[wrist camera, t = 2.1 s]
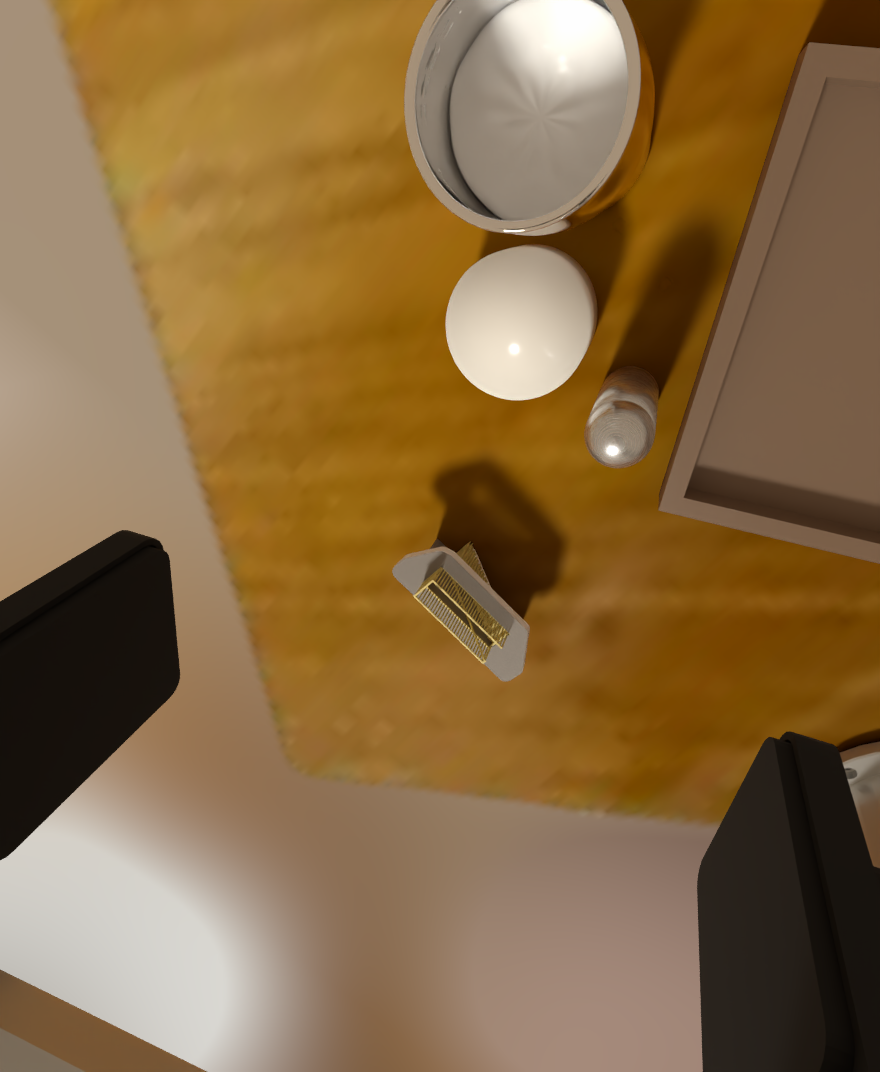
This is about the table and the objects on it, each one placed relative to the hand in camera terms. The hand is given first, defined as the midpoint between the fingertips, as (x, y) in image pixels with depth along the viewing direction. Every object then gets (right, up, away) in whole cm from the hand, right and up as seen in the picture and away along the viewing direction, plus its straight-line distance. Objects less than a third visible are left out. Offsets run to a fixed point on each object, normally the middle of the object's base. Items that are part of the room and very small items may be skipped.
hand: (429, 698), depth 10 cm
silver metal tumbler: (+7, +21, +21) cm, 30 cm away
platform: (+3, 0, +33) cm, 33 cm away
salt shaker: (+10, +10, +25) cm, 29 cm away
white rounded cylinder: (+5, +14, +25) cm, 29 cm away
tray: (+20, +12, +20) cm, 31 cm away
